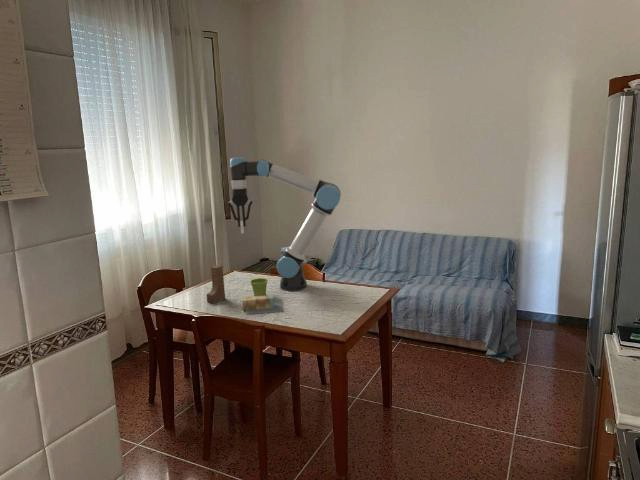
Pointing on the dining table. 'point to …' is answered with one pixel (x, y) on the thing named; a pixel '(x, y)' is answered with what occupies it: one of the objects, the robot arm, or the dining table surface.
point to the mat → (268, 309)
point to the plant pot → (259, 286)
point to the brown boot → (216, 285)
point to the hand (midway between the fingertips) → (242, 232)
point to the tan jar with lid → (258, 302)
